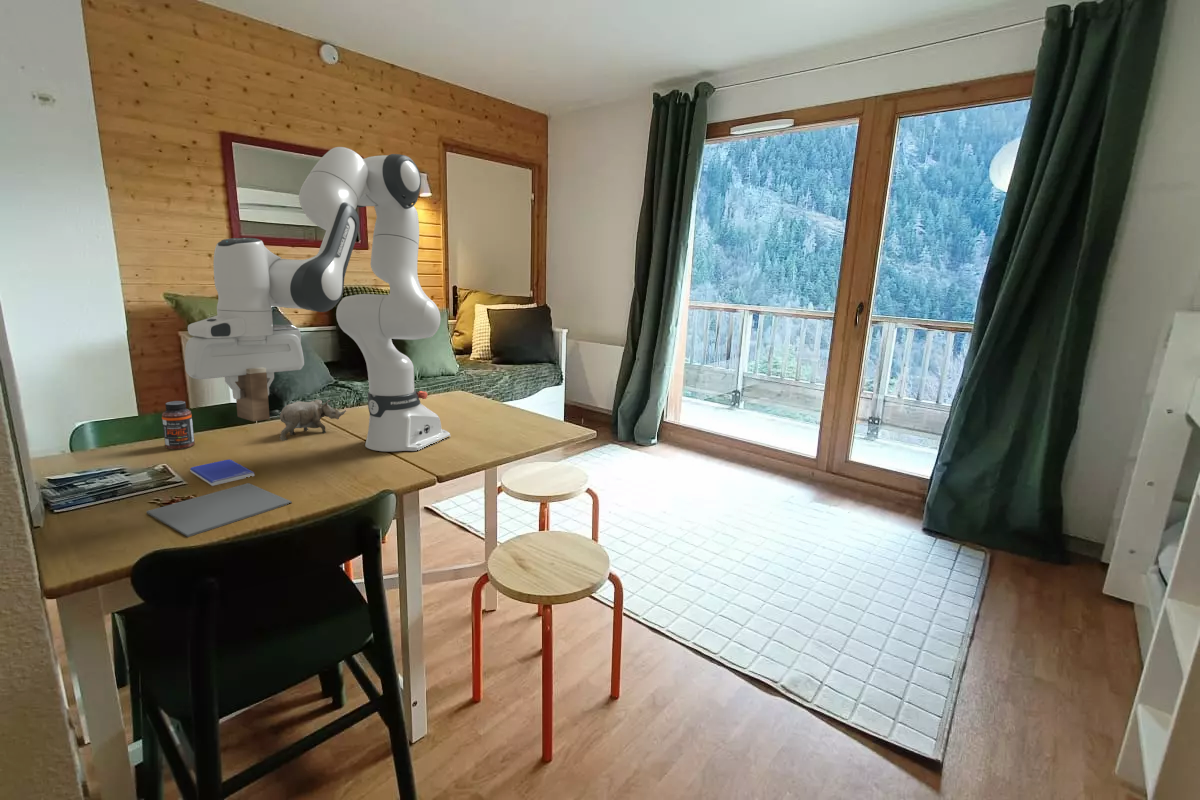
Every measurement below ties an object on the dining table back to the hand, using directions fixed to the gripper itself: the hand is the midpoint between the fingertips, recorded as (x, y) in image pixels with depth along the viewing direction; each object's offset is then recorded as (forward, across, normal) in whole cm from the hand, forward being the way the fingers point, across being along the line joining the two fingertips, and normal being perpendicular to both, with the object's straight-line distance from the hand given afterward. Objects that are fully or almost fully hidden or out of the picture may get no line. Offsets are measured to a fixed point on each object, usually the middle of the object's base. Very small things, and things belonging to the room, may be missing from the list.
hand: (251, 397), depth 110 cm
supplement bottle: (+20, -5, -46) cm, 50 cm away
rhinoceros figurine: (+19, -31, -33) cm, 49 cm away
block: (+4, 0, 0) cm, 4 cm away
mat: (+21, +7, 0) cm, 22 cm away
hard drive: (+21, -2, -19) cm, 28 cm away
